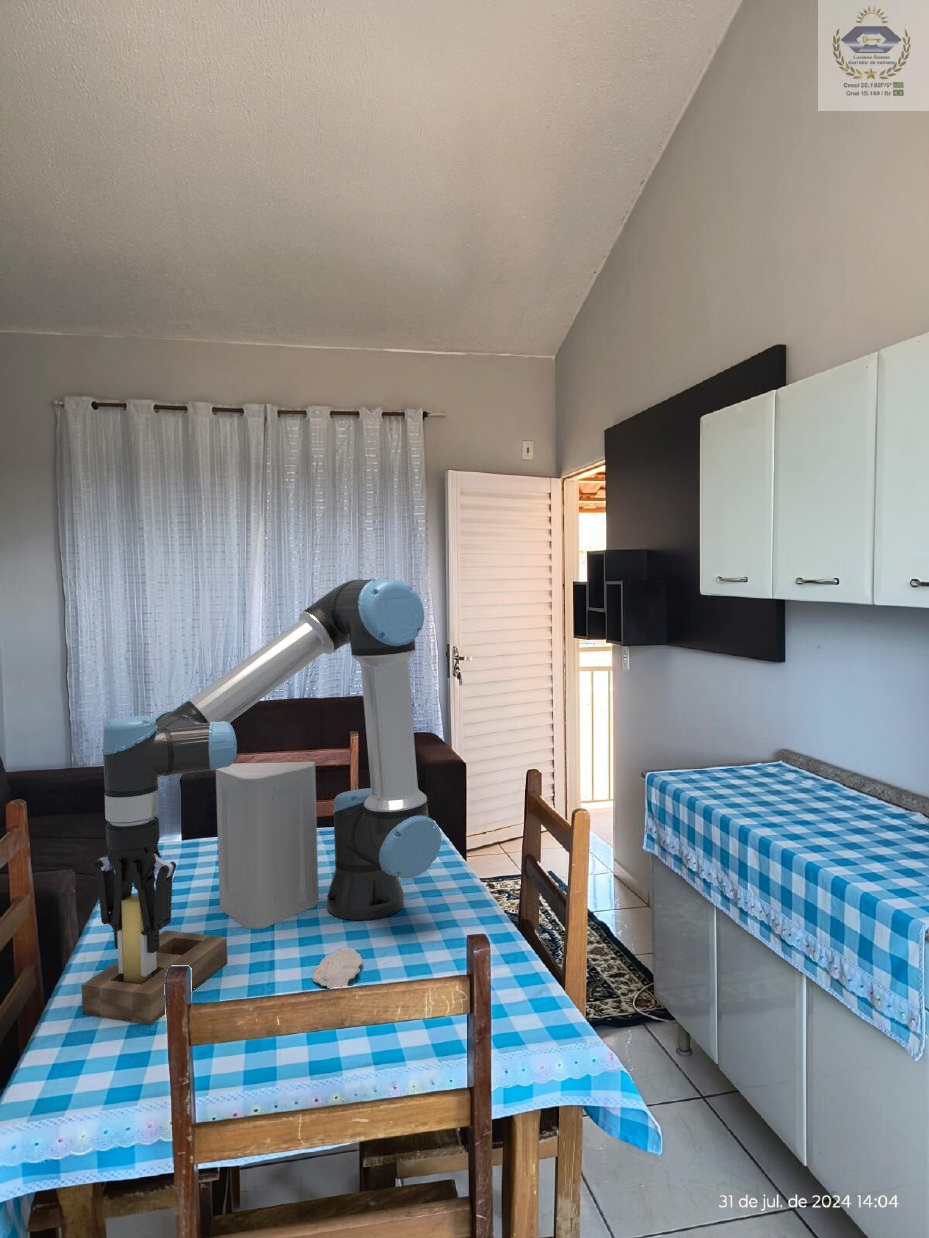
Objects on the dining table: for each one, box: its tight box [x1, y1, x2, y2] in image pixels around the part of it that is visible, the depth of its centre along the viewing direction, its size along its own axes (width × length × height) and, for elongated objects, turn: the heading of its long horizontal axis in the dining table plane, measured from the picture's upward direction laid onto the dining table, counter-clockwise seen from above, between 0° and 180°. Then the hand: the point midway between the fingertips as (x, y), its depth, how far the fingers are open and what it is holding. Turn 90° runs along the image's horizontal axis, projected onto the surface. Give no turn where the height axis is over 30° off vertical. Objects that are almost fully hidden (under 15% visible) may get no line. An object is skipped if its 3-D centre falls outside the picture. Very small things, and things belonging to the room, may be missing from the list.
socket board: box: [81, 930, 228, 1026], centre depth 130 cm, size 12×20×4 cm, turn 164°
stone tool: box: [312, 947, 364, 989], centre depth 133 cm, size 8×3×15 cm
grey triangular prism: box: [215, 761, 319, 930], centre depth 159 cm, size 19×15×28 cm
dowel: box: [122, 893, 152, 985], centre depth 125 cm, size 4×4×14 cm
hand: (137, 970), depth 125 cm, fingers closed on dowel, 3 cm apart
